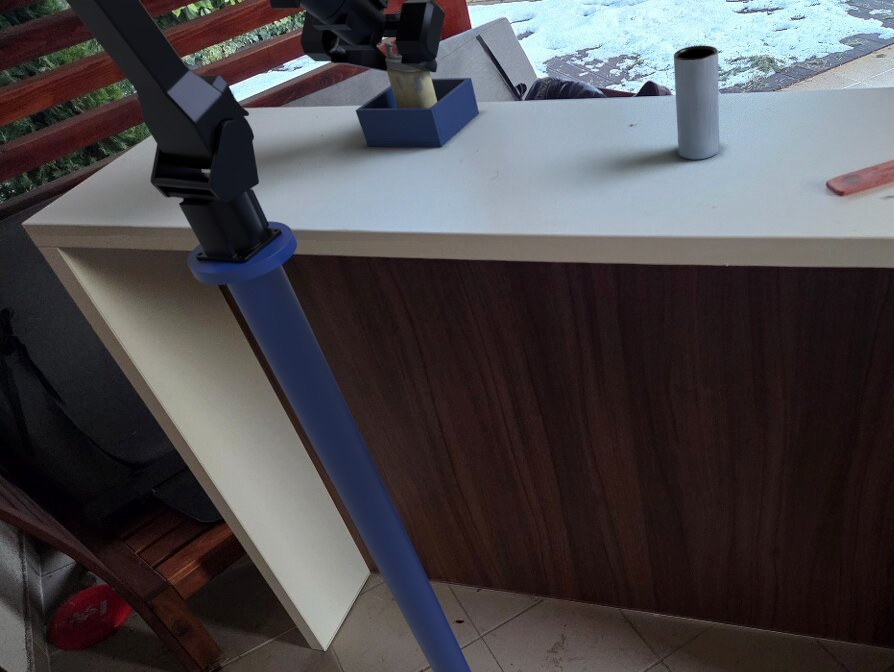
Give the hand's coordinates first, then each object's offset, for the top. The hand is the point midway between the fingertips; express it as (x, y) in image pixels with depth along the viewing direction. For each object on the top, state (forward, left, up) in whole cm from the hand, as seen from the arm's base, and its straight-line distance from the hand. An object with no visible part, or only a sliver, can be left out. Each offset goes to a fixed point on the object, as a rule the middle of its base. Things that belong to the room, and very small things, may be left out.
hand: (413, 68), depth 96 cm
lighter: (-1, 0, -7) cm, 7 cm away
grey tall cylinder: (-7, -39, -7) cm, 40 cm away
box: (-1, 0, -7) cm, 7 cm away
